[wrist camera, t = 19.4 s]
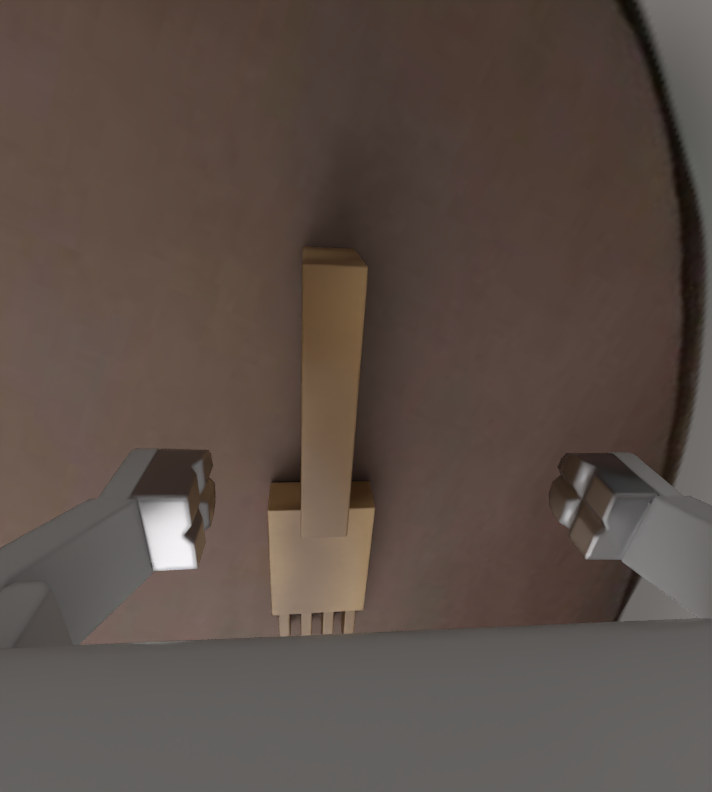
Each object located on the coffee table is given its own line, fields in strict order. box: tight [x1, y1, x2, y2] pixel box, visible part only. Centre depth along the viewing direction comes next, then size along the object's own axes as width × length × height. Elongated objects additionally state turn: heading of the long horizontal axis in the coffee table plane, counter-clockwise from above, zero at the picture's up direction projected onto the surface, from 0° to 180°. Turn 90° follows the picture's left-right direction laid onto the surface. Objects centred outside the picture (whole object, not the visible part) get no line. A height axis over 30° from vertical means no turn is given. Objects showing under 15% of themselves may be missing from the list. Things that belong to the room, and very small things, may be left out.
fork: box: [268, 246, 375, 636], centre depth 15 cm, size 4×18×3 cm, turn 176°
